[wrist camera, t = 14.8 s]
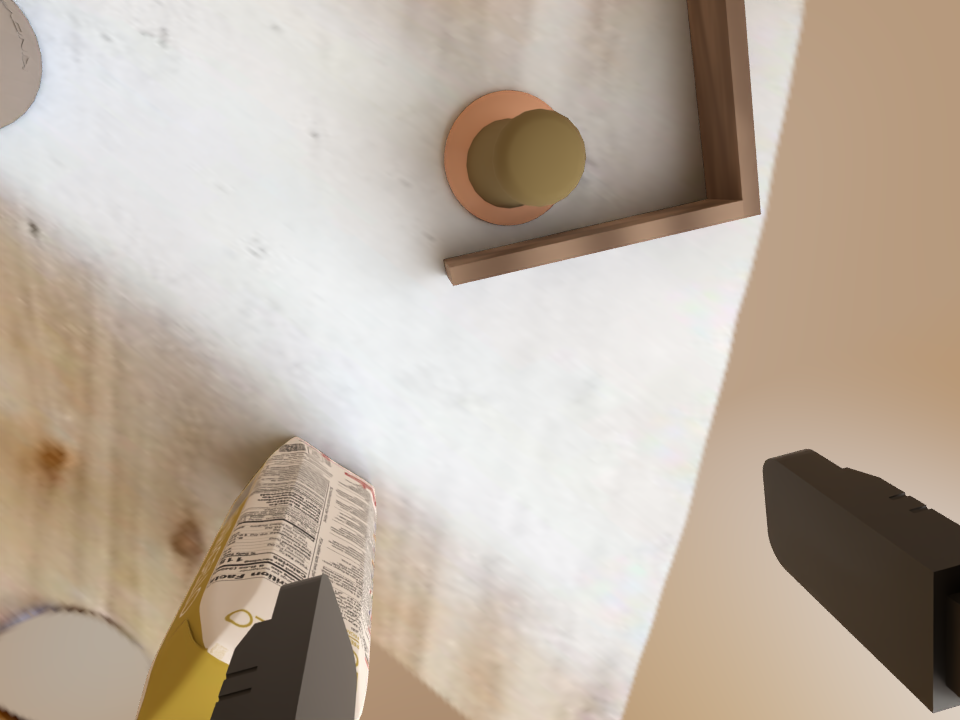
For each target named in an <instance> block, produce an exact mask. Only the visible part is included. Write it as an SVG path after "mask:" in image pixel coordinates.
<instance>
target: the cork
mask: <svg viewBox="0 0 960 720" xmlns="http://www.w3.org/2000/svg"><path fill="white" fill-rule="evenodd" d="M585 160H586V154H585V147H584V141H583V139H582V137H581V135H580V133H579V131H578V129H577V128H576V127H575V126H574V125H573V123H572V122H571V121H570V120H569V119H568V118H567V117H565V116H563V115H561V114H559V113H557V112H555V111H553V110H546V109H534V110H529V111H525V112H523V113H521V114H520V115H518V116H516V117H514V118H513V119H510V118H507V119H502V120H497V121H494V122H492V123H490V124H489V125H487V126H485V127H483V128H482V129H481V131H480V132H479V133H478V134H477V135H476V136H475V137H474V139H473V141H472V143H471V145H470V148H469V150H468V154H467V163H466V167H467V172H468V178H469V181H470V183H471V184H472V186H473V188H474V190H475V192H476V193H477V194H478V195H479V196H480V197H481V198H482V199H483V200H484V201H486V202H488V203H490V204H492V205H494V206H496V207H501V208H509V209H511V208H515V207H520V206H524V205H529V206H537V207H542V206H547V205H552V204H555V203H557V202H558V201H560V200H562V199H564V198H565V197H567V196H568V195H569V194H570V192H571V191H572V190H573V189H574V188H575V187H576V186H577V184H578V182H579V180H580V178H581V176H582V174H583V172H584V166H585Z"/></svg>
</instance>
